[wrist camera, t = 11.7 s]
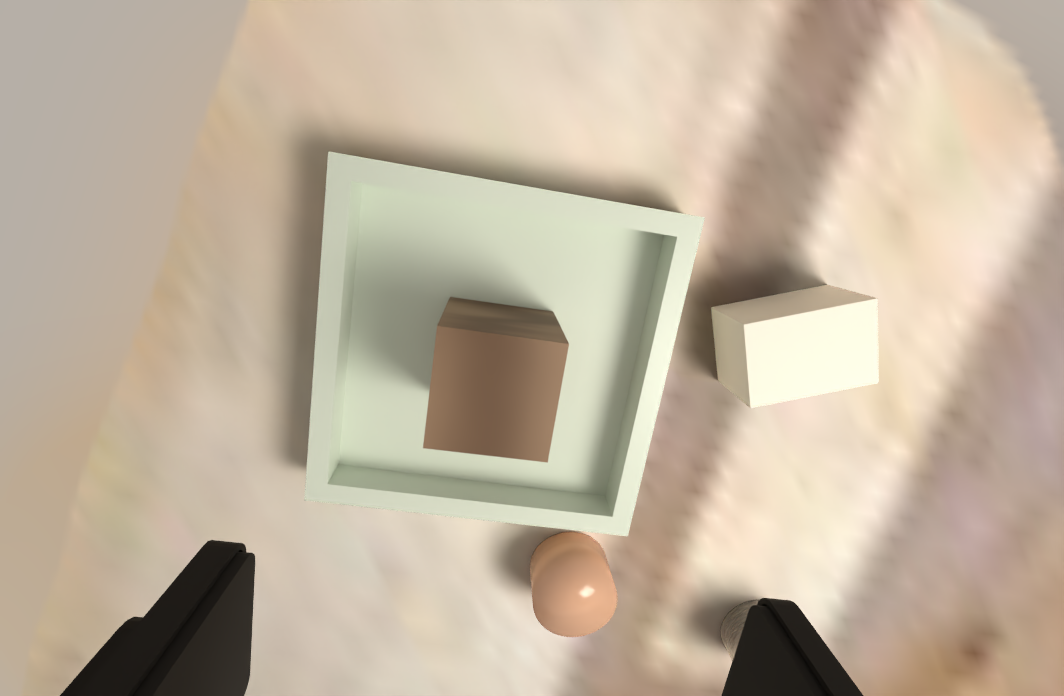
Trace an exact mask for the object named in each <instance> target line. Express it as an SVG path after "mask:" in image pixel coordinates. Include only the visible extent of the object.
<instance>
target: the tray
mask: <svg viewBox="0 0 1064 696" xmlns="http://www.w3.org/2000/svg"><path fill="white" fill-rule="evenodd" d="M704 219H705V218H704V217H699V216H693V215H687V214H682V213H676V212H670V211H665V210H659V209H653V208H648V207H642V206H636V205H631V204H625V203H619V202H614V201H608V200H602V199H596V198H591V197H585V196H579V195H574V194H568V193H562V192H557V191H551V190H545V189H540V188H534V187H528V186H523V185H517V184H511V183H506V182H500V181H494V180H489V179H483V178H477V177H471V176H466V175H460V174H454V173H449V172H443V171H437V170H432V169H426V168H420V167H415V166H409V165H403V164H398V163H392V162H386V161H381V160H375V159H369V158H364V157H358V156H352V155H346V154H341V153H335V152H329V151H328V161H327V176H326V191H325V205H324V220H323V235H322V249H321V264H320V279H319V294H318V308H317V323H316V338H315V352H314V367H313V382H312V396H311V411H310V426H309V440H308V455H307V470H306V484H305V499H304V500H306V501H315V502H324V503H333V504H342V505H351V506H360V507H369V508H378V509H387V510H396V511H405V512H414V513H423V514H432V515H441V516H450V517H459V518H468V519H477V520H486V521H495V522H504V523H513V524H522V525H531V526H540V527H549V528H558V529H567V530H576V531H585V532H594V533H603V534H612V535H621V536H628V533H629V528H630V524H631V520H632V516H633V512H634V508H635V504H636V500H637V495H638V491H639V487H640V483H641V479H642V475H643V471H644V467H645V462H646V458H647V454H648V450H649V446H650V442H651V438H652V433H653V429H654V425H655V421H656V417H657V413H658V409H659V405H660V400H661V396H662V392H663V388H664V384H665V380H666V376H667V372H668V367H669V363H670V359H671V355H672V351H673V347H674V343H675V339H676V334H677V330H678V326H679V322H680V318H681V314H682V310H683V305H684V301H685V297H686V293H687V289H688V285H689V281H690V277H691V272H692V268H693V264H694V260H695V256H696V252H697V248H698V244H699V239H700V235H701V231H702V227H703V223H704ZM450 297H455V298H462V299H469V300H476V301H483V302H490V303H497V304H504V305H511V306H518V307H525V308H532V309H539V310H546V311H553V312H554V314H555V316H556V318H557V320H558V322H559V324H560V326H561V328H562V330H563V332H564V335H565V337H566V339H567V341H568V343H569V347H568V353H567V358H566V364H565V369H564V375H563V380H562V386H561V391H560V397H559V402H558V408H557V414H556V419H555V425H554V430H553V436H552V441H551V447H550V452H549V458H548V463H547V462H539V461H530V460H521V459H512V458H504V457H495V456H486V455H478V454H469V453H460V452H451V451H443V450H434V449H425V448H423V443H424V434H425V426H426V417H427V408H428V400H429V391H430V382H431V374H432V365H433V357H434V348H435V339H436V331H437V325H438V323H439V320H440V318H441V316H442V314H443V311H444V309H445V307H446V305H447V302H448V300H449V298H450Z"/></svg>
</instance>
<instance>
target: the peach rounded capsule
mask: <svg viewBox="0 0 1064 696" xmlns="http://www.w3.org/2000/svg"><path fill="white" fill-rule="evenodd" d="M530 577H531V588H532V598H533V608H534V613H535V615H536V618H537V619H538V621H539V622H540V624H541V625H542V626H543V627H544V628H546V629H547V630H549V631H550V632H552V633H554V634H557V635H561V636H566V637H579V636H584V635H588V634H590V633H593V632H595V631H597V630H598V629H600V628H601V627H603V626H604V625H605V624H606V623H607V622H608V621H609V620H610V619H611V617H612V616H613V614H614V612H615V609H616V606H617V591H616V588H615V585H614V581H613V578H612V575H611V572H610V568H609V565H608V562H607V559H606V555H605V552H604V550H603V548H602V547H601V545H600V544H599V543H598V542H597V541H596V540H595V539H593V538H592V537H590V536H588V535H586V534H583V533H578V532H563V533H558V534H555V535H553V536H551V537H549V538H547V539H545V540H544V541H543V542H542V543H541V544H540V545H539V546H538V547H537V548H536V549H535V551H534V553H533V555H532V557H531V561H530Z"/></svg>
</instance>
